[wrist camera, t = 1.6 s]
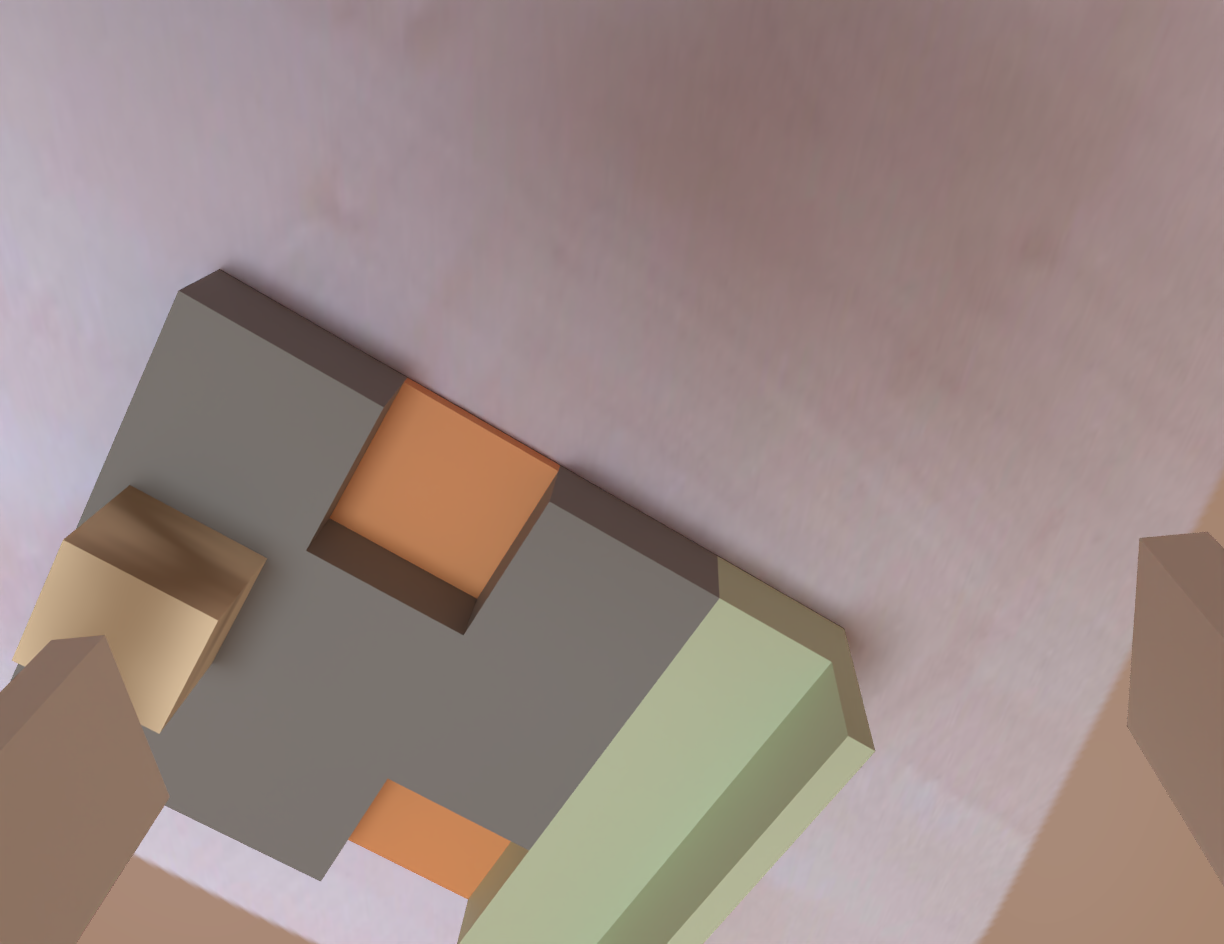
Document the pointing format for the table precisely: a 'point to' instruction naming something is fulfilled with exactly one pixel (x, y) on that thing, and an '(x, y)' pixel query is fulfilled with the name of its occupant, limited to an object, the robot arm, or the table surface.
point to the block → (145, 597)
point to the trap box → (470, 649)
